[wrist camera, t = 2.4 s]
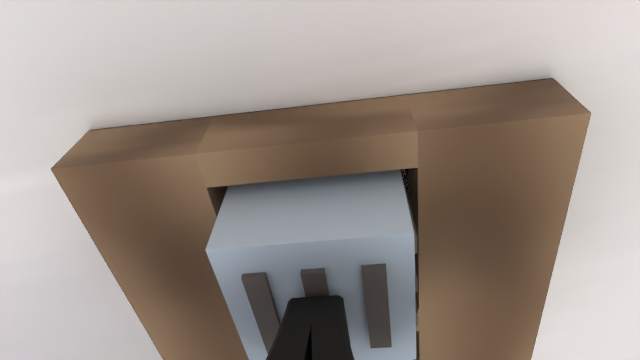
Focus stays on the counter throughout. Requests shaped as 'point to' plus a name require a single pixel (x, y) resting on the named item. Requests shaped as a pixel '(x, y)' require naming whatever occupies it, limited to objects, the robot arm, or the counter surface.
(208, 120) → the frame
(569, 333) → the counter surface
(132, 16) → the counter surface
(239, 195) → the tile three
